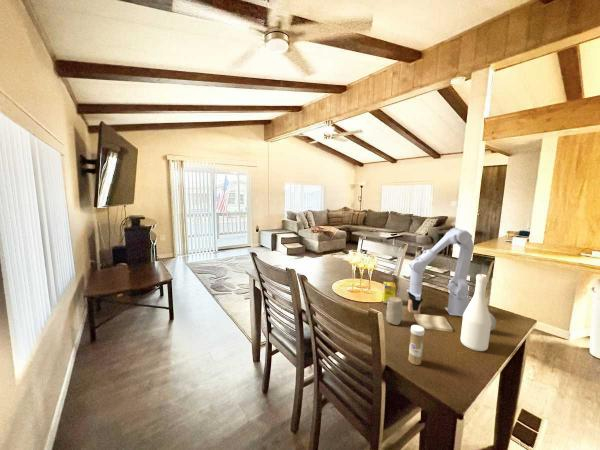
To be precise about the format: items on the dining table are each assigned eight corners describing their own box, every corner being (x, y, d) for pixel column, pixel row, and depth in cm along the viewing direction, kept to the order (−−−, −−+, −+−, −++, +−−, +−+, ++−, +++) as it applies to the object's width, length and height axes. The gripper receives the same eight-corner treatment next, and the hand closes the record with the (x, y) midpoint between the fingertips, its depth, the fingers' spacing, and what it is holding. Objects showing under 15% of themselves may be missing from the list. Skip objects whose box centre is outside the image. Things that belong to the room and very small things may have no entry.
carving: (404, 324, 123) (406, 300, 121) (392, 327, 120) (393, 302, 118) (395, 318, 129) (396, 295, 127) (382, 320, 126) (384, 297, 124)
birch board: (444, 319, 129) (444, 316, 129) (452, 331, 117) (452, 329, 117) (413, 315, 132) (414, 313, 132) (419, 327, 120) (419, 325, 120)
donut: (493, 332, 117) (496, 311, 116) (495, 335, 114) (498, 314, 113) (467, 326, 122) (470, 306, 121) (468, 329, 119) (470, 309, 118)
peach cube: (417, 309, 139) (418, 300, 139) (419, 313, 134) (420, 304, 134) (407, 308, 140) (408, 299, 140) (409, 312, 135) (410, 303, 135)
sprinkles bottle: (406, 361, 96) (409, 327, 94) (410, 355, 100) (413, 323, 98) (419, 367, 93) (422, 332, 91) (423, 361, 97) (426, 327, 95)
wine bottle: (488, 355, 101) (498, 281, 97) (460, 347, 106) (467, 276, 102) (486, 343, 109) (495, 274, 105) (460, 336, 114) (467, 269, 110)
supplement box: (394, 305, 143) (396, 286, 142) (383, 304, 144) (384, 285, 143) (393, 300, 149) (394, 282, 147) (382, 299, 150) (383, 281, 149)
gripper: (405, 277, 143) (403, 301, 145) (410, 287, 129) (408, 313, 131) (419, 278, 142) (417, 302, 143) (425, 288, 128) (423, 314, 129)
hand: (413, 307), depth 137 cm, fingers open, 6 cm apart
